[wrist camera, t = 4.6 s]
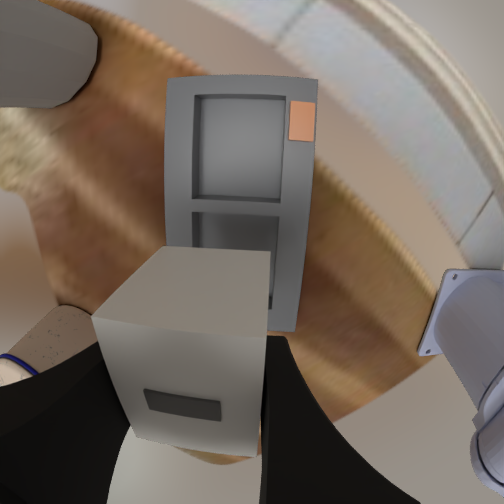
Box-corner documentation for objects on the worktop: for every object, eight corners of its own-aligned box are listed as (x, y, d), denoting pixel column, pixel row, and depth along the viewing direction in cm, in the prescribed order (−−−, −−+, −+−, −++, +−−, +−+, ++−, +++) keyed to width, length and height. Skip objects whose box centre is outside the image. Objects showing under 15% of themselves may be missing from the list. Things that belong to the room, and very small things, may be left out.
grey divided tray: (311, 88, 15) (320, 76, 12) (292, 311, 20) (295, 339, 17) (181, 86, 15) (162, 75, 12) (183, 302, 21) (169, 327, 17)
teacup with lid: (37, 297, 22) (-38, 365, 11) (106, 304, 21) (22, 402, 10) (77, 386, 26) (32, 456, 15) (143, 401, 25) (103, 491, 14)
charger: (270, 251, 10) (266, 341, 5) (263, 359, 12) (256, 459, 7) (162, 245, 10) (88, 318, 6) (175, 350, 12) (135, 439, 7)
